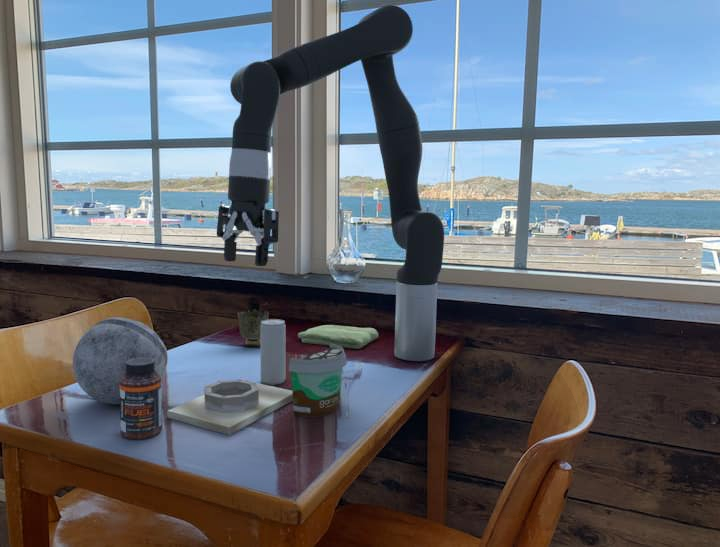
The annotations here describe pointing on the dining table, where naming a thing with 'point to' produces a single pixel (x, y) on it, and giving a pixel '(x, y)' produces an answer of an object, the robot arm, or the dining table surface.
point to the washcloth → (339, 336)
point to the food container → (317, 382)
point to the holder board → (233, 418)
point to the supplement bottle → (140, 399)
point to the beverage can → (273, 351)
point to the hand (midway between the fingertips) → (244, 263)
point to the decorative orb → (114, 355)
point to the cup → (251, 326)
